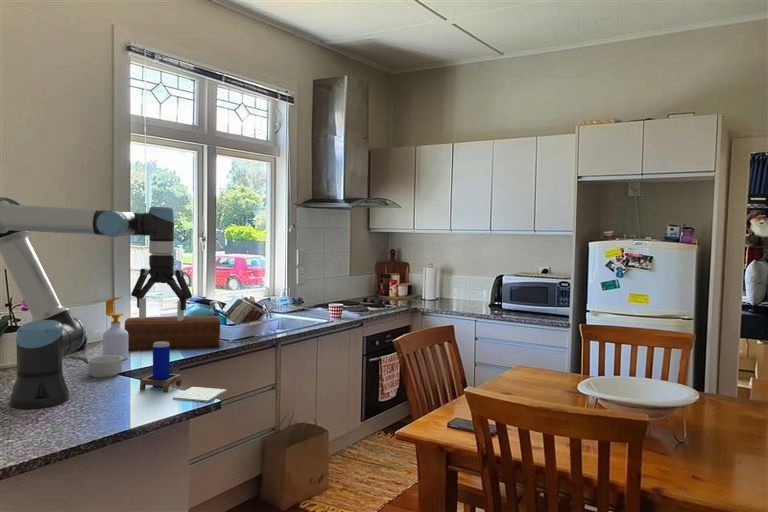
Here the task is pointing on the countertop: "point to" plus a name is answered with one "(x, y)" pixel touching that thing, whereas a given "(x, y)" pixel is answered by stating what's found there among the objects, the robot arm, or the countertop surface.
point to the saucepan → (102, 365)
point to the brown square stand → (160, 382)
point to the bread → (173, 332)
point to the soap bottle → (115, 334)
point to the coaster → (200, 394)
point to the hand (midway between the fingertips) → (161, 319)
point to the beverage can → (161, 362)
